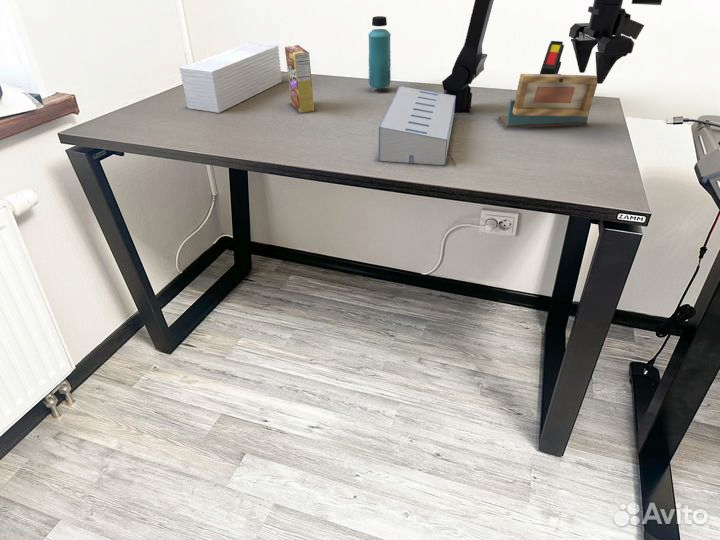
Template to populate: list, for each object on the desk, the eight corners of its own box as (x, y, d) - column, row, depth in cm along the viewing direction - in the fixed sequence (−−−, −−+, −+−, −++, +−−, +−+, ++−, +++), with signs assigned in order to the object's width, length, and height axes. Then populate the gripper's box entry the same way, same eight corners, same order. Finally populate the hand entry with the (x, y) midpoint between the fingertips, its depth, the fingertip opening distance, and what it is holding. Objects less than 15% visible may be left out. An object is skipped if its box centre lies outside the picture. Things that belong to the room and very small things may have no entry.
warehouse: (445, 165, 110) (448, 130, 106) (378, 160, 113) (378, 126, 109) (453, 117, 134) (456, 88, 130) (398, 115, 137) (399, 85, 132)
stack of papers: (253, 78, 168) (249, 42, 162) (281, 81, 164) (278, 45, 158) (187, 108, 144) (179, 67, 138) (218, 113, 140) (211, 71, 134)
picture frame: (515, 115, 122) (523, 76, 117) (512, 112, 124) (520, 73, 119) (588, 116, 124) (599, 78, 119) (584, 113, 126) (595, 75, 121)
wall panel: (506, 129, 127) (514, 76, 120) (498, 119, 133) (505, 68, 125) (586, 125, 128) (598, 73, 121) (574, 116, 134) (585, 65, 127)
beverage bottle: (390, 93, 152) (392, 18, 141) (368, 93, 152) (367, 18, 141) (390, 86, 158) (391, 14, 146) (368, 87, 158) (367, 14, 146)
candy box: (289, 104, 146) (284, 46, 137) (304, 101, 147) (299, 44, 138) (299, 113, 139) (294, 53, 130) (314, 111, 140) (310, 51, 132)
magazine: (557, 86, 149) (564, 40, 137) (547, 119, 144) (554, 74, 131) (544, 85, 151) (550, 39, 138) (533, 117, 145) (538, 73, 133)
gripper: (669, 8, 104) (645, 88, 113) (622, -5, 119) (605, 66, 128) (615, 10, 103) (596, 90, 112) (575, -4, 118) (561, 68, 127)
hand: (590, 77), depth 120 cm, fingers open, 9 cm apart
